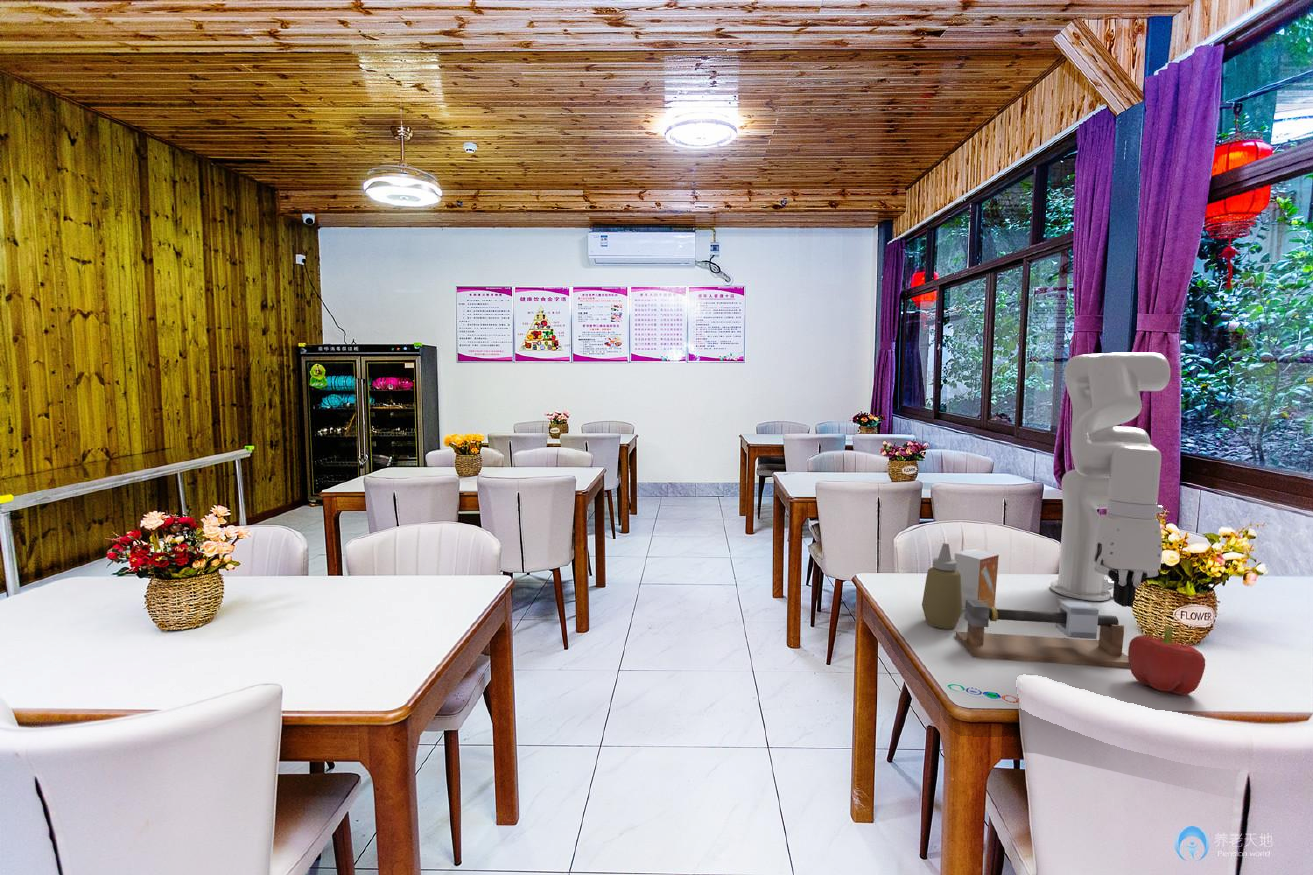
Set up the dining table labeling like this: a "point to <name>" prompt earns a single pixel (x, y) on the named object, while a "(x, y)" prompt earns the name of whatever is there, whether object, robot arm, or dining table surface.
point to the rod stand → (1040, 639)
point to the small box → (977, 575)
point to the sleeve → (1078, 619)
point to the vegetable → (1165, 663)
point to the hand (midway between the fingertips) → (1123, 604)
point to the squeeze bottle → (943, 592)
